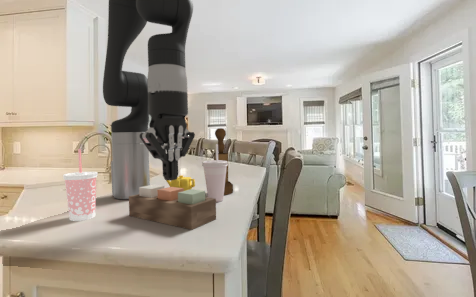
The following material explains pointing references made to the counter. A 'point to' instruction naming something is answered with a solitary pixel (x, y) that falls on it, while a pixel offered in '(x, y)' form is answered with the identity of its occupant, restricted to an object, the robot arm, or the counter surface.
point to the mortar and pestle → (223, 158)
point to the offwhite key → (149, 190)
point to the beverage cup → (81, 193)
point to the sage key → (191, 196)
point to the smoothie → (215, 177)
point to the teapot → (182, 182)
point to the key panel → (173, 211)
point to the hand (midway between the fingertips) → (170, 179)
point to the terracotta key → (169, 193)
